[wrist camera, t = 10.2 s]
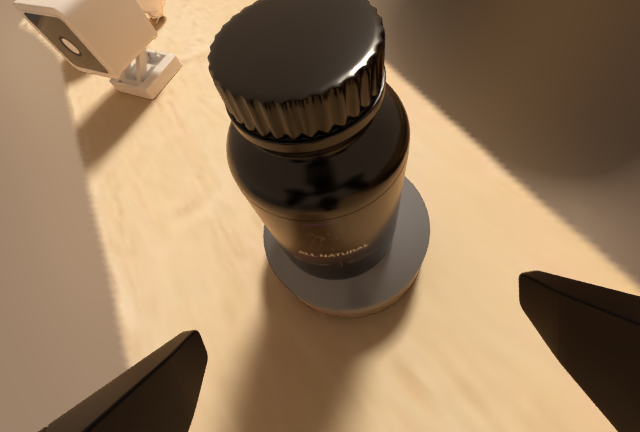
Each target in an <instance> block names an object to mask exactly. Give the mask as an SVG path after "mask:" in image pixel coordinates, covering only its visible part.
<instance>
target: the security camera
mask: <svg viewBox="0 0 640 432" xmlns="http://www.w3.org/2000/svg"><path fill="white" fill-rule="evenodd" d="M13 5H14V7H15V8H16V9H17V11H18V12H19V13H20V14H21V15H22V16H23V17H24V18H25V19H26V20H27V21H28V22H29V23H30V24H31V25H32V26H33V27H34V28H35V29H36V30H37V31H38V32H39V33H40V34H41V35H42V36H43V37H44V38H45V39H46V40H47V41H48V42H49V43H50V44H51V45H52V46H53V47H54V48H55V49H56V50H57V51H58V52H59V53H60V54H61V55H62V56H63V57H64V58H65V59H66V60H67V61H68V62H69V63H70V64H71V65H72V66H73V67H75V68H76V69H78V70H79V71H82V72H86V73H91V74H95V75H99V76H104V77H108V78H111V79H110V82H111V84H112V85H113V86H114V87H115V88H116V89H117V90H118V91H120V92H124V93H128V94H132V95H136V96H140V97H144V98H147V99H154V98H155V97H156V96H157V95H158V94H159V93H160V91H161V90H162V89H163V88H164V87H165V85H166V84H167V83H168V82H169V81H170V80H171V78H172V77H173V76H174V75H175V74H176V73H177V71H178V70H179V69H180V68H181V67H182V64H181V62H180V61H179V59H178V57H177V56H176V54H172V53H166V52H161V51H160V52H159V53H157V51H155V50H150V49H146V46H147V45H148V44H149V43H150V42H151V41H152V40H153V39H156V37H157V32H156V30H155V29H154V27H153V26H152V24H151V23H150V21H149V19H148V18H147V16H146V15H145V13H144V12H143V10H142V9H141V7H140V6H139V4H138V2H137V1H136V0H16V1H15V2H13Z"/></svg>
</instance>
